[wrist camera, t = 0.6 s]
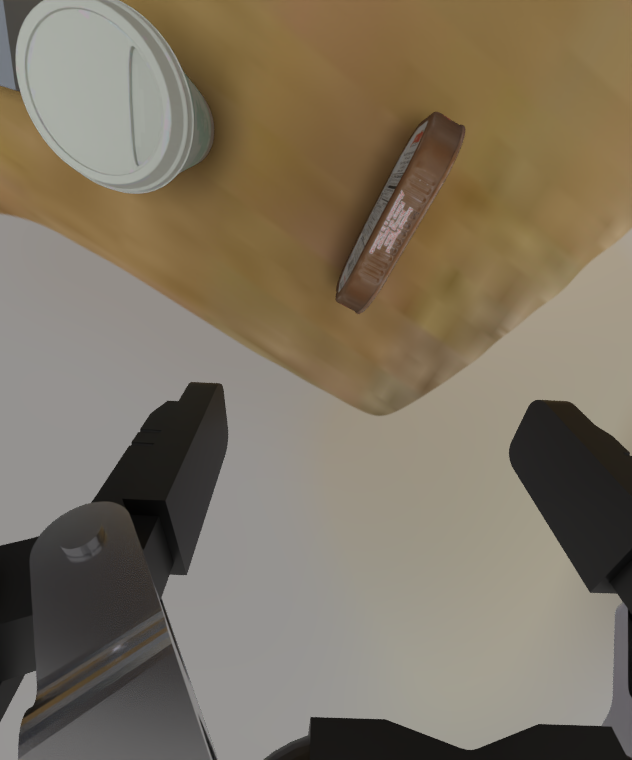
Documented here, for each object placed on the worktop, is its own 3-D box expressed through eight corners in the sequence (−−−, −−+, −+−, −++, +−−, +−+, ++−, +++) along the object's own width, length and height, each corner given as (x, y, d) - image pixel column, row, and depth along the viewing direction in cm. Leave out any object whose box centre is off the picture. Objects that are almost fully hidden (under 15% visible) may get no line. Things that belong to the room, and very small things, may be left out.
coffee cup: (192, 208, 31) (130, 229, 21) (102, 124, 28) (-25, 99, 17) (253, 123, 27) (216, 99, 17) (159, 17, 24) (45, -89, 14)
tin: (355, 297, 35) (364, 331, 28) (327, 284, 34) (330, 315, 27) (446, 133, 28) (490, 122, 21) (413, 112, 27) (447, 93, 20)
